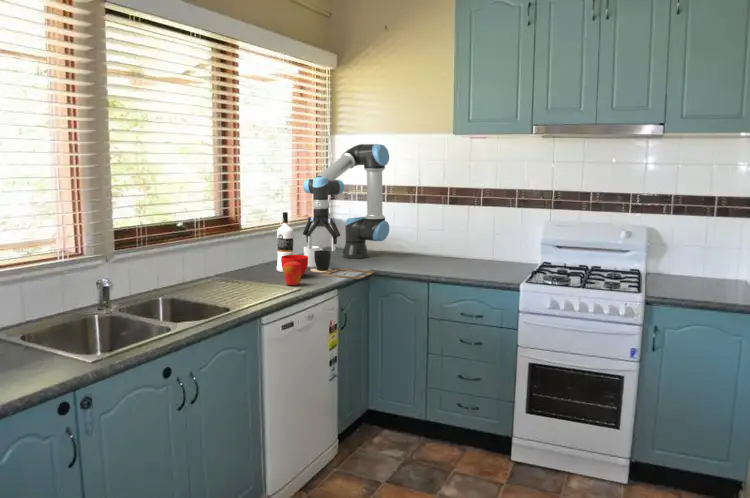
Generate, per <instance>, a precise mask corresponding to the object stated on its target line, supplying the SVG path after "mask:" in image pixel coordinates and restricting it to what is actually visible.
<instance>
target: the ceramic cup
mask: <svg viewBox="0 0 750 498" xmlns="http://www.w3.org/2000/svg"><path fill="white" fill-rule="evenodd" d="M292 259H293V261H295V262H298V263H300V264H301V266H302V271H301V278H302V277H304V275H305V273H306V272H307V269H308V267H307V266H308V256H305V255H304V254H294V255H285V256H282V257H281V264H282V269H283V266H284V264H285V263H287V262H289V261H292Z"/></svg>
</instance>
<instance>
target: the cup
mask: <svg viewBox="0 0 750 498" xmlns="http://www.w3.org/2000/svg"><path fill="white" fill-rule="evenodd" d="M319 250H324V249H323V248H321V247H320V246H319V245H318V246H316V245H312V249H308V245H307V246H306V245H305V246H304V247H303V255H305V256H308V266H307V268H317V267H316V264H315V258H314V252H315V251H319Z"/></svg>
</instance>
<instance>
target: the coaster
mask: <svg viewBox="0 0 750 498" xmlns="http://www.w3.org/2000/svg"><path fill="white" fill-rule="evenodd" d="M332 270H333V269H332V268H330V267H329V268H328V270H327V271H318V270H317V267H311V268H310V270H309V271H310V272H311V273H320V274H324V273H326V272H329V271H332Z"/></svg>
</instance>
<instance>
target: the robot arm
mask: <svg viewBox="0 0 750 498" xmlns="http://www.w3.org/2000/svg"><path fill="white" fill-rule="evenodd" d="M389 161H390V153H389V150H388V148H387V147H386V145H384V144H381V143H380V144H379V143H375V144H374V143H367V144H364V143H360V144H357V145H355V146H353V147H351V148H348V149H347V150H346V151H344V152H343V153H342V154H341V156H340V158H338V159H336V161H334V162H333V163H331V164H330V165H329V166H328V167H326V168H325V169H324V170H323V171H321V172H320V173H319V174H318V175H317V176H314V178H309V179H305V180H304V182H303V183H302V188H303V191H304V192H305V193H306V194H311V195H312V196H313V197H312V198H313V201H312V202H313V216H308V218H307V223H306V225H305V228H304V230H303V232H302V234H303V236H304V235H305V237H306V243H307V246H308V249H312V246H313V236H312V235H311V234H312V233H313V232H314V231H315V230H316V228H317V227H322V228H323V227H324V228H325V229H327V231H328V232H329V234H330V235H331V252H334V251H336V245H337V244H338V243H337V242H338V238H339V237H340V236H341V233H340V231H339V229H338V227H337V224H336V222H335V218H334V217H331V218H330V217H329V214H330V213H329V196H335V195H336V196H337V195H341V194H343V192H344V191H345V184H344V182H343V181H342V180H340V179H338V178H339V177H340V176H341V175H343V174H344V173H345V172H346V171H348V170H349V169H353V168H354V167H356V166H363V169H364V170H365V171H366V206H367V207H366V208H367V209H366V213H367V214H366V215H365V216H359V217H348V218H347V219H345V244H344V247H343V251H342V258H345V259H353V260H354V259H355V260H356V259H357V260H358V259H367V258H369V249H368V247H367V244H366V243H367V242H366V241H373V242H382V241H385V240H386V239H387V237H388V235H389V233H390V224H389V222H388V221H386V216H385V215H383V172H384V170H386V165H388V164H389ZM313 222H314V223H313ZM329 223H330V224H329Z"/></svg>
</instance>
